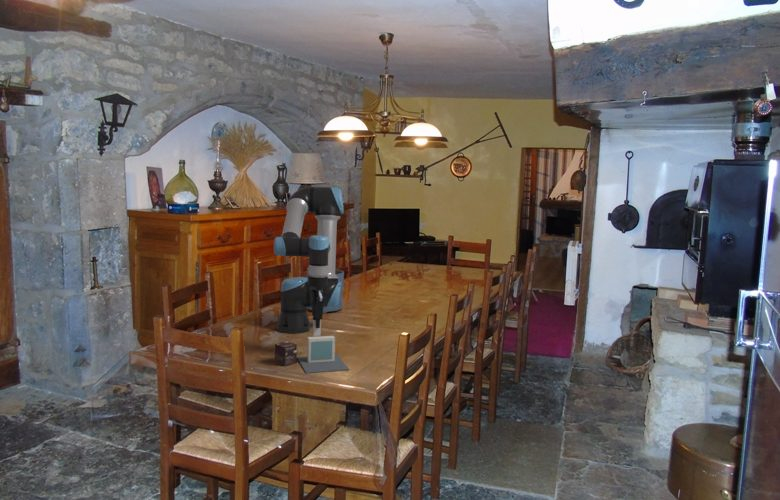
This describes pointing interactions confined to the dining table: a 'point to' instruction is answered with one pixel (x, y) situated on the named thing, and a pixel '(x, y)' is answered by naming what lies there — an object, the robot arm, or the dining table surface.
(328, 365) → the mat
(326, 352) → the light grey flat block
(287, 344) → the box
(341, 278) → the planter
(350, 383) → the dining table surface
